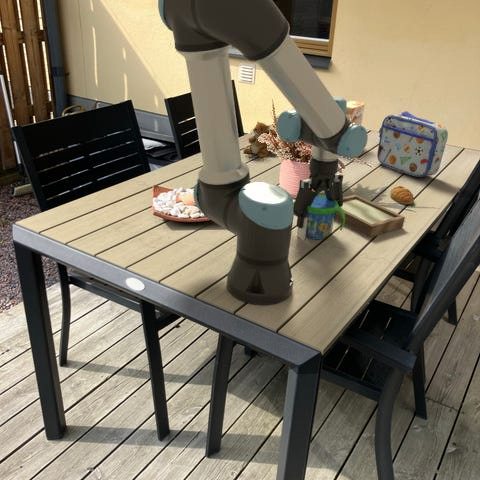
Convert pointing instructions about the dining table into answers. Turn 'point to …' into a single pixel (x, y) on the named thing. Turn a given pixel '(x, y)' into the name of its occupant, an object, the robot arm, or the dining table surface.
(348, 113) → the coffeecake box
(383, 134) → the lunch box
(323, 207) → the snack cup
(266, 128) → the stuffed squirrel
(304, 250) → the dining table surface
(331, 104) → the robot arm
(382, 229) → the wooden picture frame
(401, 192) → the pastry
